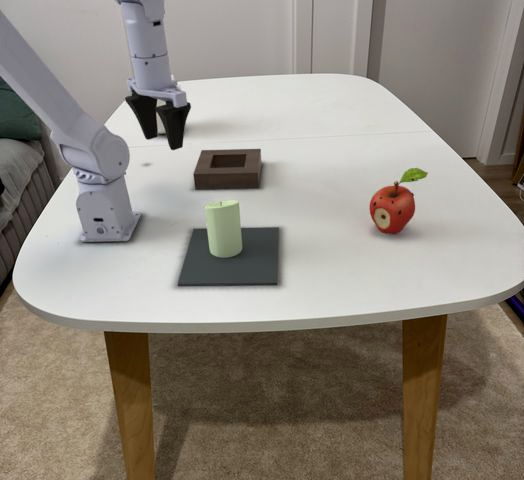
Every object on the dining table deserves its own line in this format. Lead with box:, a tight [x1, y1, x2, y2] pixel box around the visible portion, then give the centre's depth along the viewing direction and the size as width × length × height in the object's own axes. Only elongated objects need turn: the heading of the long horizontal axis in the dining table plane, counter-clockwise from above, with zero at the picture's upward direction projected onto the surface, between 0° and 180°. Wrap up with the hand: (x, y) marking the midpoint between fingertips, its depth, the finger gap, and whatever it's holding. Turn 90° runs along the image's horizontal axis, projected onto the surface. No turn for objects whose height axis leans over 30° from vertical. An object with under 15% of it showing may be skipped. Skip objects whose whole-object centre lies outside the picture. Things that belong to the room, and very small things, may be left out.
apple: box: [368, 167, 429, 236], centre depth 78 cm, size 8×7×10 cm
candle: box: [204, 199, 242, 258], centre depth 75 cm, size 5×5×8 cm
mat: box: [177, 226, 280, 287], centre depth 77 cm, size 16×14×1 cm
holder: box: [192, 148, 262, 190], centre depth 99 cm, size 12×12×3 cm
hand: (163, 143), depth 88 cm, fingers open, 7 cm apart
